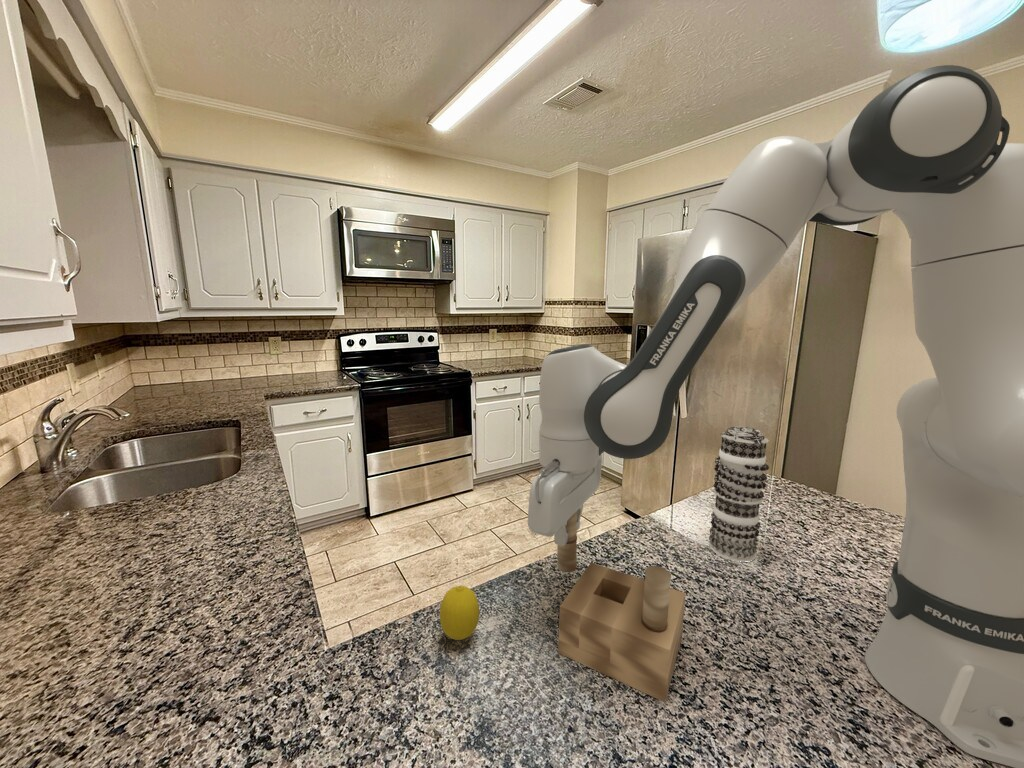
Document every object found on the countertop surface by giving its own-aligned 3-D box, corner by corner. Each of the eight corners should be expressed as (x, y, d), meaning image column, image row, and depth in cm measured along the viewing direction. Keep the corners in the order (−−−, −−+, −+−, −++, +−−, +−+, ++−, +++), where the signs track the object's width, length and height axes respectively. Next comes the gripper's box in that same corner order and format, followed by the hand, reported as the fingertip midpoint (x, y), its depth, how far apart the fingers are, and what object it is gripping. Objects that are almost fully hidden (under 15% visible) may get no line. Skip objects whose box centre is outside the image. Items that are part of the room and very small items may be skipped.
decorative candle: (758, 546, 84) (772, 427, 80) (759, 569, 76) (774, 438, 72) (708, 534, 88) (719, 421, 84) (704, 555, 80) (716, 431, 76)
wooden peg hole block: (681, 637, 59) (689, 547, 57) (665, 702, 49) (674, 595, 47) (589, 602, 66) (593, 521, 64) (558, 652, 56) (561, 558, 54)
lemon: (472, 657, 55) (472, 602, 54) (433, 650, 56) (433, 596, 55) (483, 627, 60) (484, 577, 59) (448, 621, 61) (447, 572, 60)
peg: (579, 564, 66) (580, 493, 64) (572, 574, 63) (572, 500, 61) (561, 559, 67) (562, 489, 65) (553, 569, 64) (554, 496, 63)
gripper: (558, 476, 52) (558, 577, 54) (608, 438, 69) (606, 515, 71) (516, 468, 55) (516, 563, 57) (573, 434, 73) (573, 507, 74)
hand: (567, 536), depth 64 cm, fingers closed on peg, 3 cm apart
